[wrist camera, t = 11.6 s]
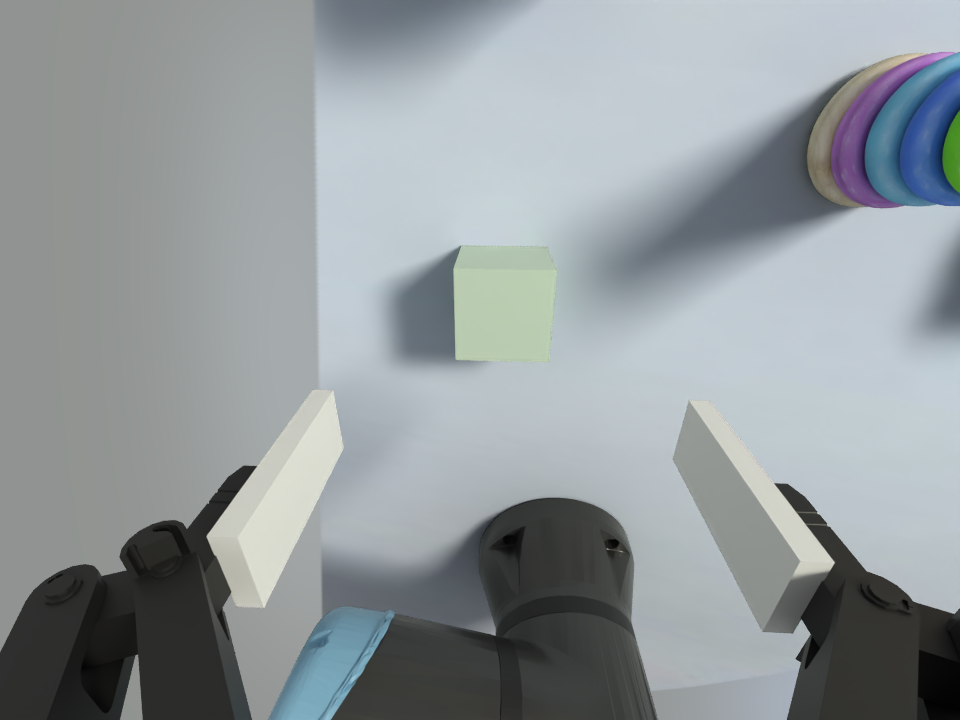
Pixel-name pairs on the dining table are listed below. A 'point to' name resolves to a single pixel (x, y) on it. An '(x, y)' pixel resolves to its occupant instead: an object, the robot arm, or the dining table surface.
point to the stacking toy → (892, 135)
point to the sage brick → (504, 303)
